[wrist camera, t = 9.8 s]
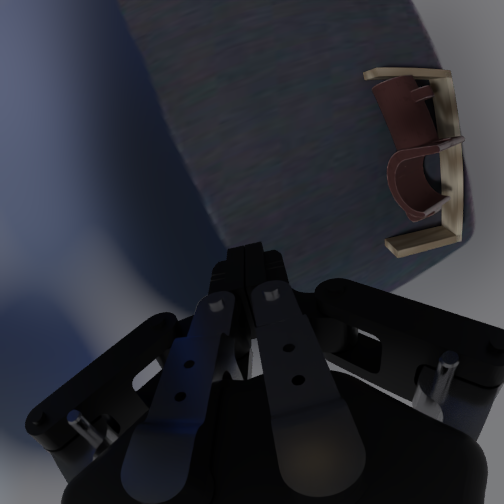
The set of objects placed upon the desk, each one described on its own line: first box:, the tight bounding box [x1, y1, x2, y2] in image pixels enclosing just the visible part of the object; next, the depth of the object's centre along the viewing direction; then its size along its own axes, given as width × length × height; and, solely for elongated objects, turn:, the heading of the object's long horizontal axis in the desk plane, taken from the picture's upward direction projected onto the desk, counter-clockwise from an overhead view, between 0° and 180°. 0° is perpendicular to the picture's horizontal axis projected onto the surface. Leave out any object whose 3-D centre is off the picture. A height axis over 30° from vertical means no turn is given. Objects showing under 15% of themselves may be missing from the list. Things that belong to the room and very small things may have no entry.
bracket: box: [372, 75, 465, 222], centre depth 28 cm, size 6×17×10 cm, turn 22°
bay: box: [363, 68, 463, 258], centre depth 31 cm, size 23×11×4 cm, turn 13°
